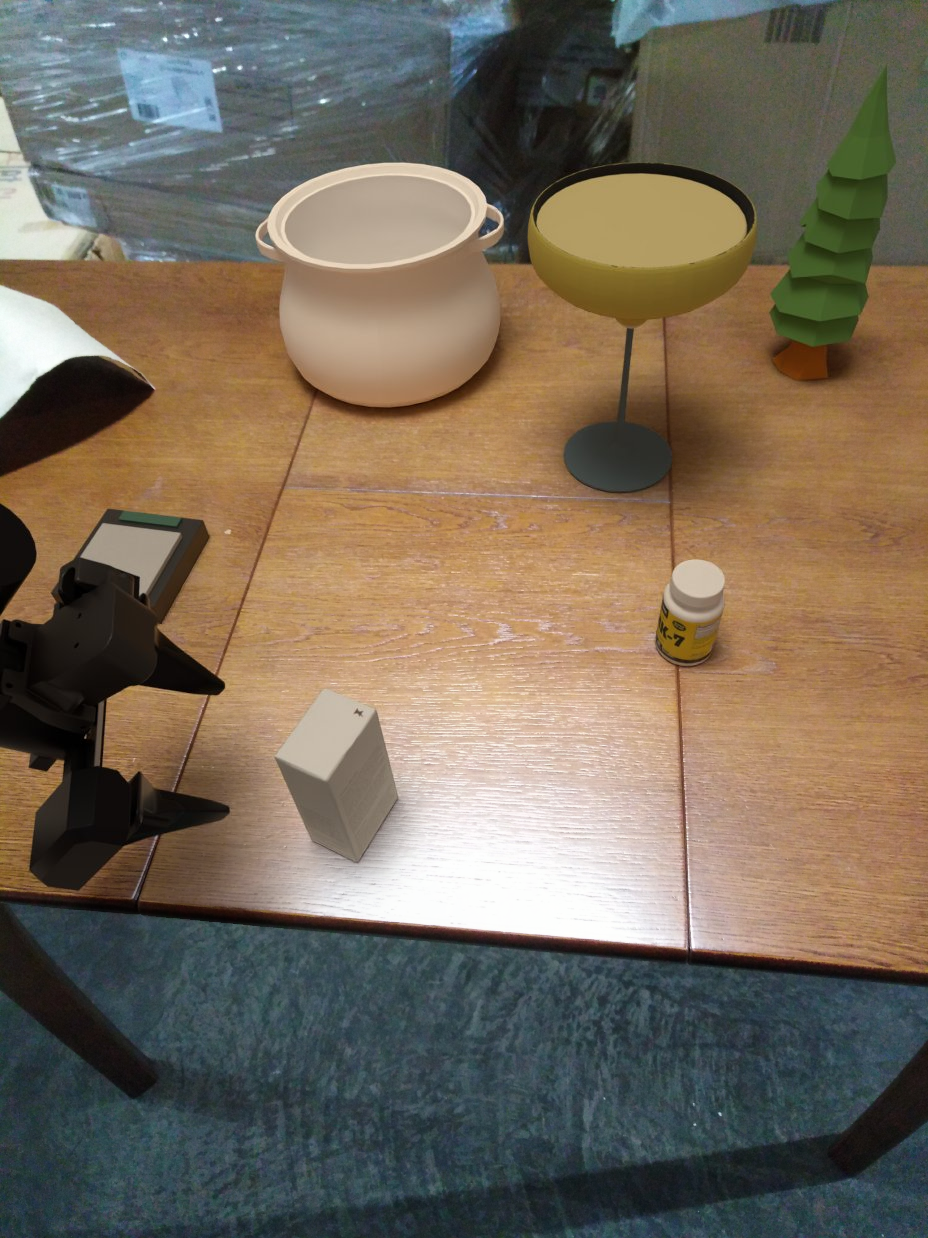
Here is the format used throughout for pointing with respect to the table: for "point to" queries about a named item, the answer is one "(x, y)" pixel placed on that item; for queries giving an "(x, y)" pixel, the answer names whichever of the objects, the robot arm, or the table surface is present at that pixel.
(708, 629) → the supplement bottle
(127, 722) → the table surface
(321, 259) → the pot
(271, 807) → the table surface
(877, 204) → the decorative tree
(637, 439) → the cocktail glass
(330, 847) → the cosmetic box
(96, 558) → the kitchen scale
